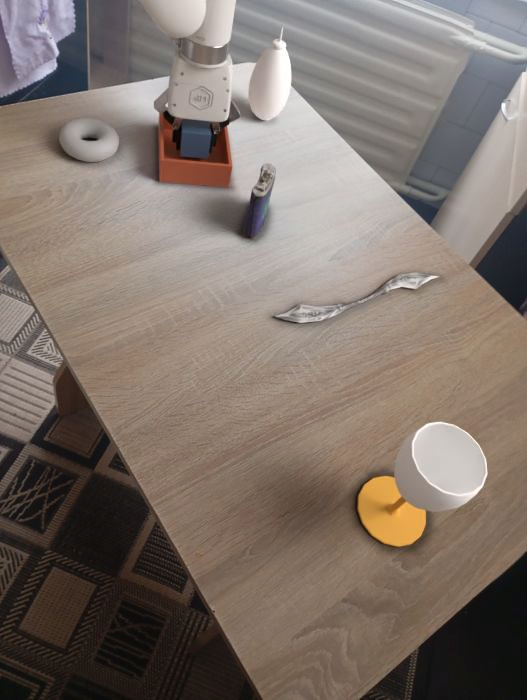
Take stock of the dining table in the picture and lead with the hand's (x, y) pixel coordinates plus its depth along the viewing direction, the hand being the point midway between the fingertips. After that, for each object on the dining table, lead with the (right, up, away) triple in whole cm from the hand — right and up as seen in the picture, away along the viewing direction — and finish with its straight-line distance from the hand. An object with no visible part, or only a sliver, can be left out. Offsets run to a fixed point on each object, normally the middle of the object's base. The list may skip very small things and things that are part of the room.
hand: (193, 146), depth 101 cm
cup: (+29, -57, -30) cm, 71 cm away
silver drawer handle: (+29, -28, -10) cm, 41 cm away
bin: (0, -1, +2) cm, 2 cm away
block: (0, 0, +1) cm, 1 cm away
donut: (-18, -1, -2) cm, 18 cm away
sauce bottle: (+12, +11, +14) cm, 21 cm away
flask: (+11, -15, -5) cm, 19 cm away
